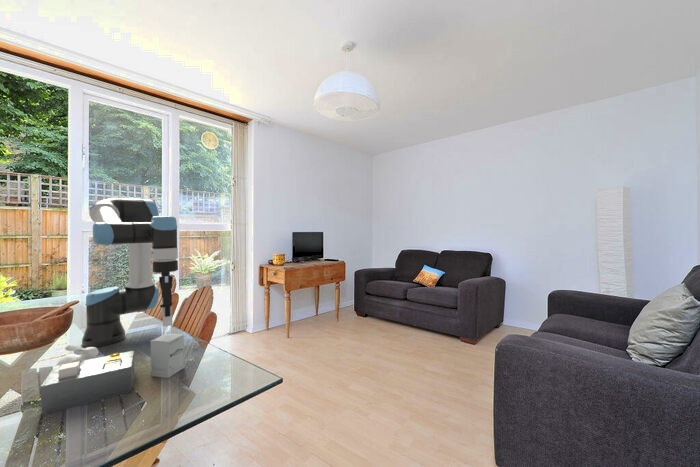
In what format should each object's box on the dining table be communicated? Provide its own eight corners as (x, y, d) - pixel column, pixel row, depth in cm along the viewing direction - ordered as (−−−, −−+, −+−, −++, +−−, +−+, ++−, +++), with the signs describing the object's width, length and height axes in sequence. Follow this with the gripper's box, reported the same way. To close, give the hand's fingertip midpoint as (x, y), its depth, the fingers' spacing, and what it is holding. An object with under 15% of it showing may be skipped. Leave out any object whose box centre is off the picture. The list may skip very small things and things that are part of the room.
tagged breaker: (105, 379, 94) (105, 364, 94) (121, 375, 96) (121, 360, 96) (104, 385, 91) (103, 369, 91) (120, 381, 93) (119, 365, 93)
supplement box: (168, 378, 100) (167, 341, 100) (150, 376, 101) (149, 340, 101) (185, 368, 107) (184, 333, 107) (167, 366, 109) (166, 332, 108)
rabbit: (101, 369, 106) (100, 337, 106) (84, 383, 97) (82, 347, 97) (62, 373, 104) (61, 339, 104) (40, 387, 95) (39, 351, 94)
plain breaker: (62, 380, 88) (61, 364, 88) (80, 377, 91) (79, 361, 90) (59, 387, 85) (58, 370, 85) (77, 382, 87) (76, 366, 87)
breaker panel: (56, 391, 93) (54, 364, 92) (134, 373, 104) (133, 349, 104) (41, 414, 81) (40, 384, 81) (131, 391, 92) (131, 364, 92)
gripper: (152, 257, 111) (154, 313, 112) (152, 264, 91) (154, 333, 91) (175, 256, 116) (177, 310, 116) (180, 262, 95) (182, 328, 95)
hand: (167, 320), depth 104 cm, fingers open, 13 cm apart
